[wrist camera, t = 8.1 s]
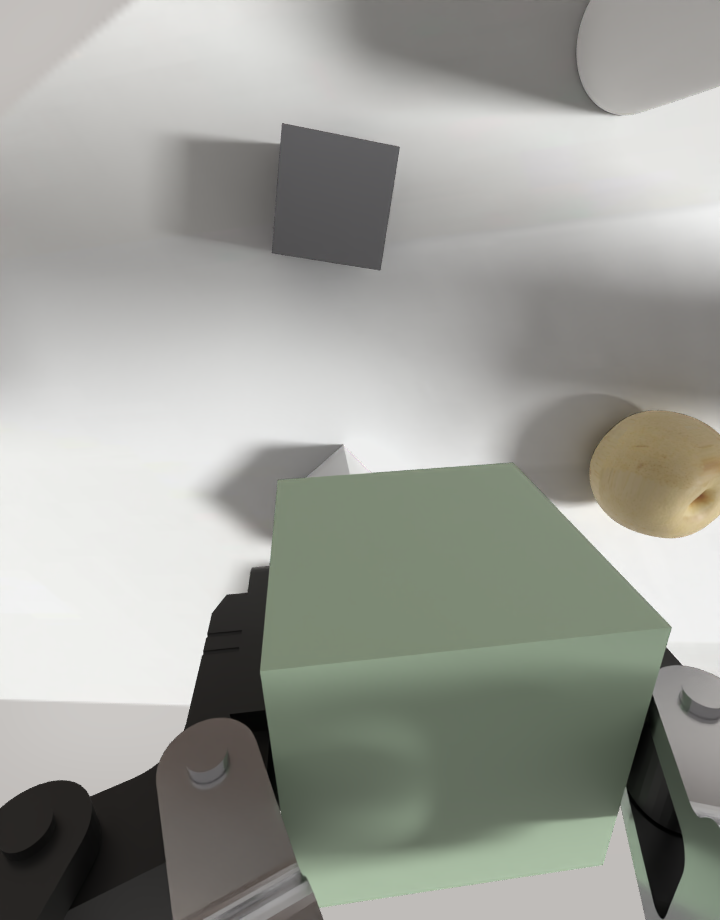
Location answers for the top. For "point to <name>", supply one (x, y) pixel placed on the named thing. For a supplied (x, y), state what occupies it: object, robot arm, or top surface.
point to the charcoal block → (333, 197)
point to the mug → (648, 52)
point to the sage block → (447, 681)
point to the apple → (658, 474)
